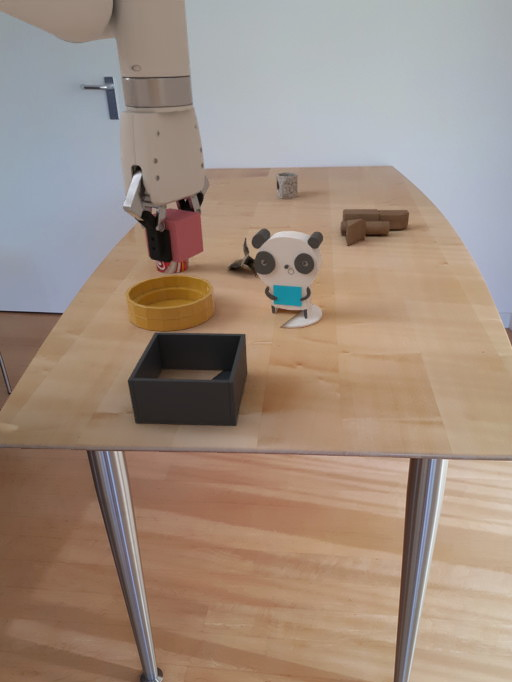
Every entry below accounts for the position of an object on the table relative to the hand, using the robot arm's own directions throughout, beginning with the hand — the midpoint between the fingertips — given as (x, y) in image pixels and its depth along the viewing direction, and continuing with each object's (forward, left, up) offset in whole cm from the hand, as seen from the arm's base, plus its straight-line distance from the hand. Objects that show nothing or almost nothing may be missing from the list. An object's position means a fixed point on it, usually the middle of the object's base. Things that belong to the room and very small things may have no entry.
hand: (176, 252), depth 70 cm
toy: (0, 0, 0) cm, 0 cm away
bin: (-3, -3, -19) cm, 20 cm away
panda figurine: (+27, -1, -20) cm, 33 cm away
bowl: (+16, +17, -19) cm, 30 cm away
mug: (+104, +44, -20) cm, 114 cm away
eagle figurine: (+42, +18, -20) cm, 49 cm away
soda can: (+34, +32, -20) cm, 50 cm away
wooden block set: (+79, +3, -20) cm, 81 cm away
